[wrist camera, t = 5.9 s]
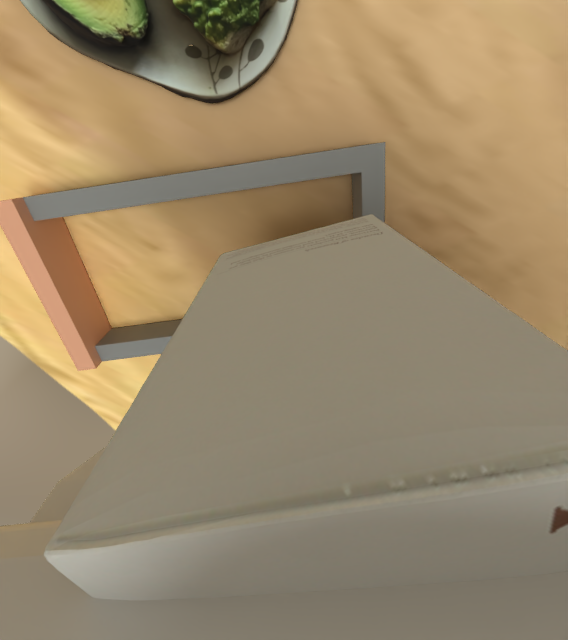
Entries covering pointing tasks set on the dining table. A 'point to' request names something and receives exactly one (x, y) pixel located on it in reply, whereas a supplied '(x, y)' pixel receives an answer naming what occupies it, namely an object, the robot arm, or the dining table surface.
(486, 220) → the dining table surface
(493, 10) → the dining table surface
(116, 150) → the dining table surface
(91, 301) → the bay
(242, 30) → the salad plate
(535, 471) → the supplement box
